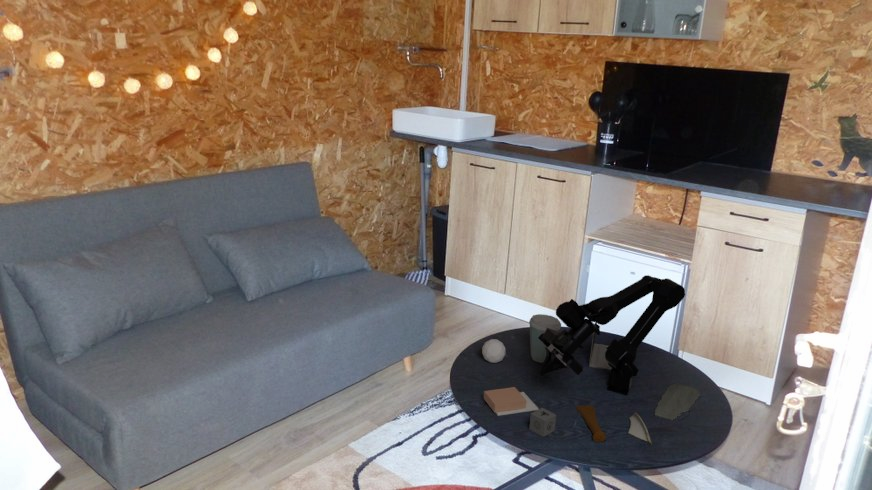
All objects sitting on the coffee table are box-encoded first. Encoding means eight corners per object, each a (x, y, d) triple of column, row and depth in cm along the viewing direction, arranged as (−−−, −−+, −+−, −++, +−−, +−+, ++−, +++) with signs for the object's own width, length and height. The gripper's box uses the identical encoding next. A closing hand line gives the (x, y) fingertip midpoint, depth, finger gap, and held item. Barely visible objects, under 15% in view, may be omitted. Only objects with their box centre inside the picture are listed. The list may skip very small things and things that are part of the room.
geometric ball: (498, 367, 234) (514, 352, 232) (485, 367, 228) (502, 351, 225) (485, 350, 238) (501, 334, 235) (473, 349, 232) (489, 333, 229)
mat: (523, 392, 213) (523, 391, 213) (538, 409, 204) (538, 408, 204) (484, 398, 209) (484, 397, 209) (497, 415, 200) (497, 414, 200)
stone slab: (700, 398, 219) (669, 385, 224) (703, 390, 218) (671, 377, 222) (683, 431, 201) (650, 416, 205) (686, 423, 200) (652, 408, 204)
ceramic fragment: (653, 446, 190) (654, 434, 189) (634, 446, 189) (636, 434, 188) (635, 419, 203) (637, 407, 202) (618, 419, 203) (620, 407, 202)
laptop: (627, 373, 229) (632, 337, 225) (588, 367, 233) (593, 331, 229) (628, 351, 246) (633, 317, 242) (592, 345, 249) (597, 311, 245)
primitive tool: (574, 407, 208) (576, 396, 207) (592, 407, 208) (594, 396, 207) (592, 444, 190) (594, 433, 189) (612, 444, 190) (614, 433, 189)
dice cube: (554, 430, 194) (556, 415, 193) (543, 437, 191) (545, 421, 190) (540, 423, 198) (542, 407, 196) (529, 429, 195) (530, 413, 193)
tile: (514, 387, 210) (484, 391, 207) (526, 400, 203) (495, 404, 200) (513, 394, 211) (483, 399, 208) (525, 408, 204) (494, 413, 201)
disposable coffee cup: (534, 348, 243) (538, 309, 239) (563, 358, 237) (567, 317, 233) (519, 359, 235) (523, 318, 230) (548, 369, 229) (553, 327, 224)
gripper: (546, 308, 212) (510, 345, 212) (577, 333, 195) (539, 374, 195) (566, 328, 217) (532, 365, 217) (599, 355, 200) (561, 395, 200)
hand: (540, 374), depth 207 cm, fingers closed
